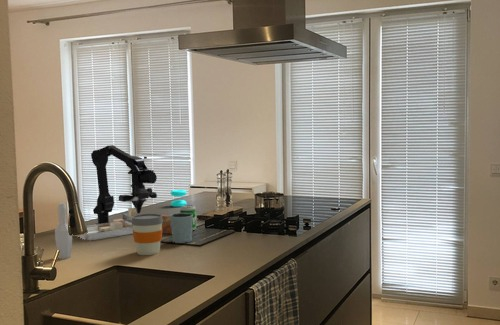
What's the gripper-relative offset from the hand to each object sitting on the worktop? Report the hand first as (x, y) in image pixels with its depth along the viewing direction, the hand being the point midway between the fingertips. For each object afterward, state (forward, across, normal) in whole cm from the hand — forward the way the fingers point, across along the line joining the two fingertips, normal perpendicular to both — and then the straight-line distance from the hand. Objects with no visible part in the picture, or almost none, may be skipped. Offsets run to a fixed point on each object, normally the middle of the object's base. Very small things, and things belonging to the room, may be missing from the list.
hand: (138, 213), depth 271 cm
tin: (+8, +4, -20) cm, 21 cm away
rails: (+8, -15, 0) cm, 17 cm away
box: (+8, -25, 0) cm, 26 cm away
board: (+8, -11, 0) cm, 13 cm away
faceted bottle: (+8, -50, -33) cm, 60 cm away
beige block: (+6, -14, -3) cm, 15 cm away
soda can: (+8, +15, -23) cm, 28 cm away
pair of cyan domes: (+8, +52, +47) cm, 71 cm away
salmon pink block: (+6, -10, +3) cm, 11 cm away
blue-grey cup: (+8, 0, -42) cm, 42 cm away
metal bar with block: (+4, -3, 0) cm, 5 cm away
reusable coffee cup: (+8, -21, -49) cm, 54 cm away
